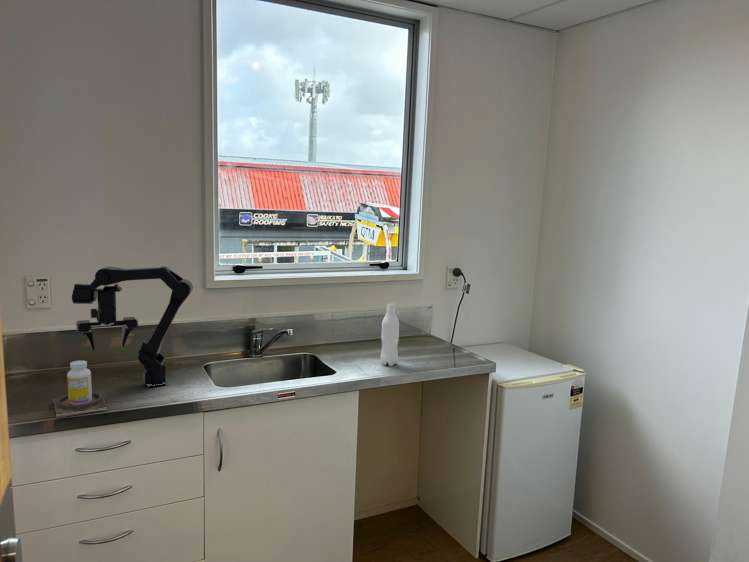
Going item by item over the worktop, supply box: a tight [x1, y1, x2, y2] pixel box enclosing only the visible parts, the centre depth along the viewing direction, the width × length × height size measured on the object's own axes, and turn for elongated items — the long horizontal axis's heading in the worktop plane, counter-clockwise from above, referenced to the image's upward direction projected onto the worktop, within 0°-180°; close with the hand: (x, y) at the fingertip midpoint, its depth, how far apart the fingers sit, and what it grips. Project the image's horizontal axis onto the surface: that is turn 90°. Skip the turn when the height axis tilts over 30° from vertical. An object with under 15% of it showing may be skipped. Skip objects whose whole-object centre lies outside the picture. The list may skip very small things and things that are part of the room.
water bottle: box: [380, 302, 400, 367], centre depth 237 cm, size 7×7×25 cm
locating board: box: [52, 391, 109, 414], centre depth 182 cm, size 14×14×3 cm
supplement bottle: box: [66, 360, 93, 405], centre depth 181 cm, size 7×7×13 cm
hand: (108, 348), depth 201 cm, fingers open, 9 cm apart
